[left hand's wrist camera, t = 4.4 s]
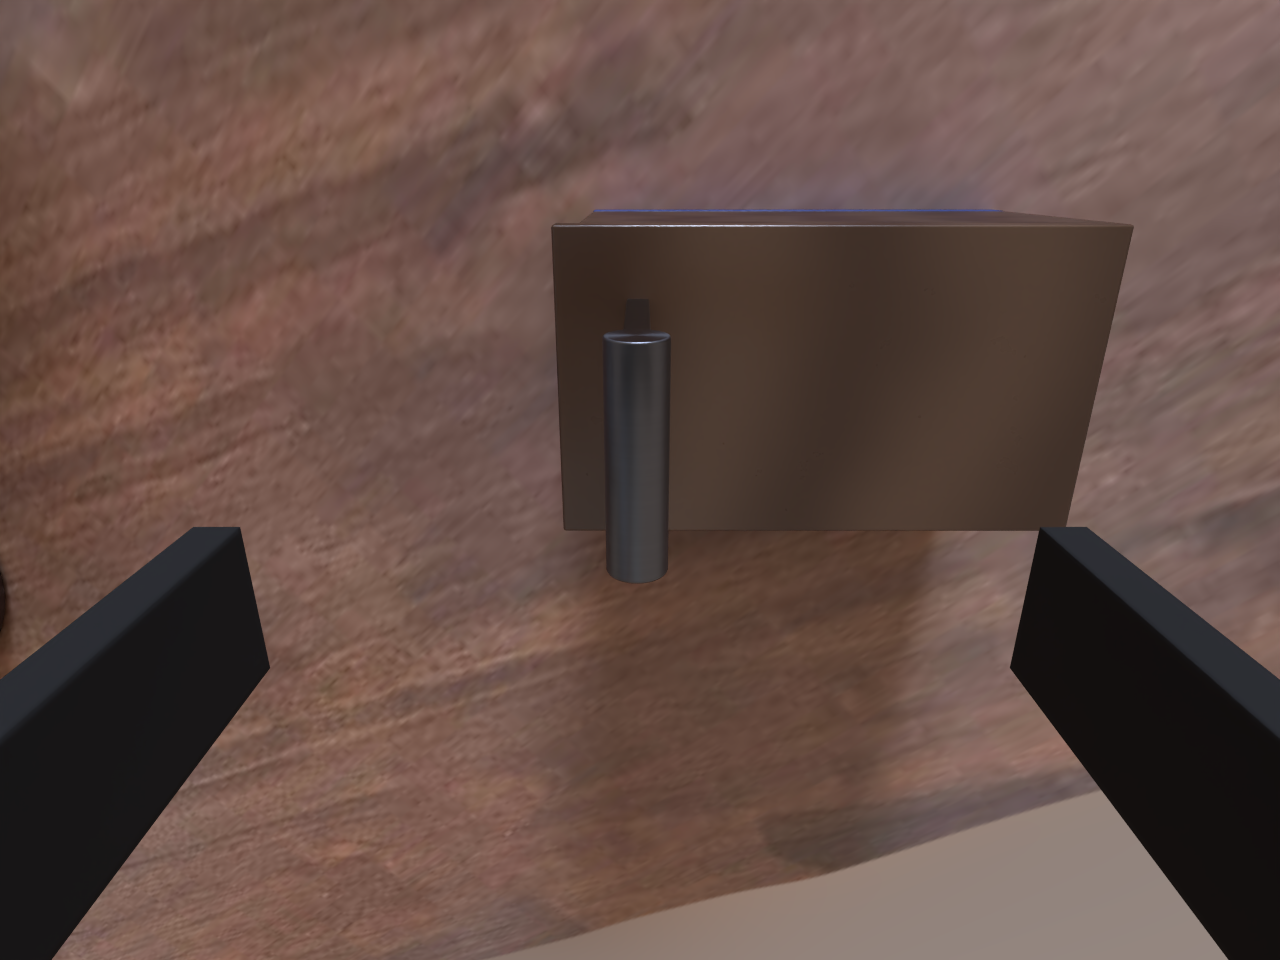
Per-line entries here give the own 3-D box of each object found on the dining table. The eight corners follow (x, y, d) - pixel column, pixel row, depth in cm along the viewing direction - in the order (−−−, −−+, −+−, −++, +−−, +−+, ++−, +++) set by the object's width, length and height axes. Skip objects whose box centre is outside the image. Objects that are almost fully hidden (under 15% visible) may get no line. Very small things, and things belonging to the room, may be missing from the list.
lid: (565, 520, 28) (536, 652, 20) (553, 223, 24) (513, 246, 16) (1053, 520, 28) (1210, 653, 20) (1118, 223, 24) (1342, 246, 16)
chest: (599, 438, 37) (586, 520, 28) (594, 209, 33) (578, 222, 24) (955, 438, 37) (1052, 520, 28) (991, 209, 33) (1117, 222, 24)
